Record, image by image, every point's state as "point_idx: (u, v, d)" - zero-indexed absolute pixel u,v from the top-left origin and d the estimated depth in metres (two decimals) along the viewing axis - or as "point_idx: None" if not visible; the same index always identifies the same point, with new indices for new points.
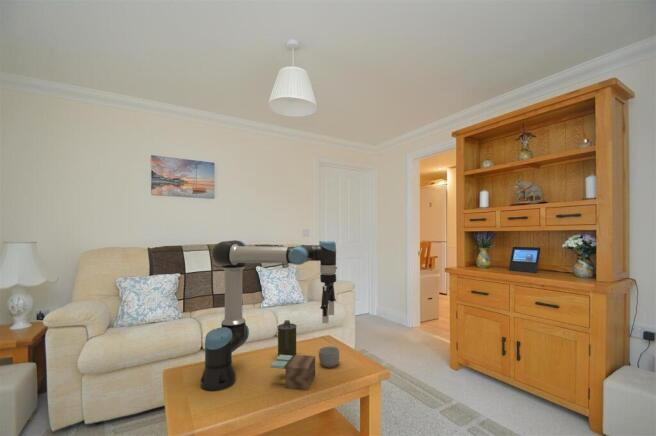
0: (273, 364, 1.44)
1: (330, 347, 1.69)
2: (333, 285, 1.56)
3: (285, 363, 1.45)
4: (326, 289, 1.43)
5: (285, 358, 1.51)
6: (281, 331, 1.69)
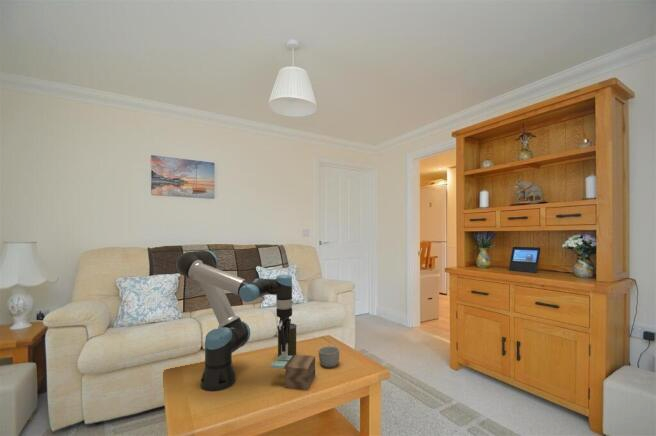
0: (273, 364, 1.44)
1: (330, 347, 1.69)
2: None
3: (285, 363, 1.45)
4: (281, 329, 1.46)
5: (285, 358, 1.51)
6: None
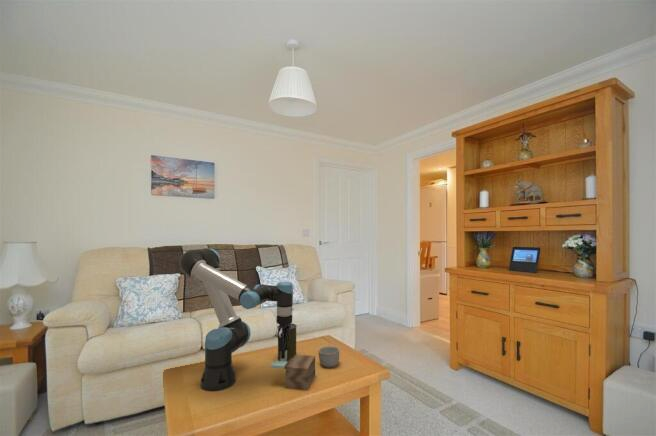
0: (273, 364, 1.44)
1: (330, 347, 1.69)
2: None
3: (285, 363, 1.45)
4: (281, 336, 1.46)
5: None
6: None
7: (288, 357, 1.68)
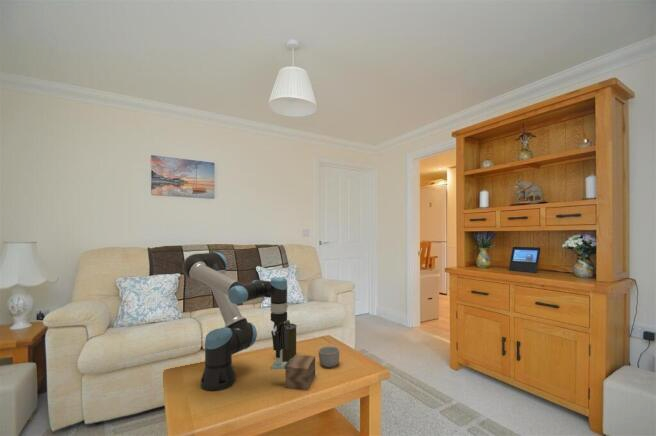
0: (273, 366, 1.44)
1: (330, 347, 1.69)
2: (285, 327, 1.50)
3: (285, 363, 1.45)
4: (275, 334, 1.40)
5: None
6: None
7: (288, 357, 1.68)
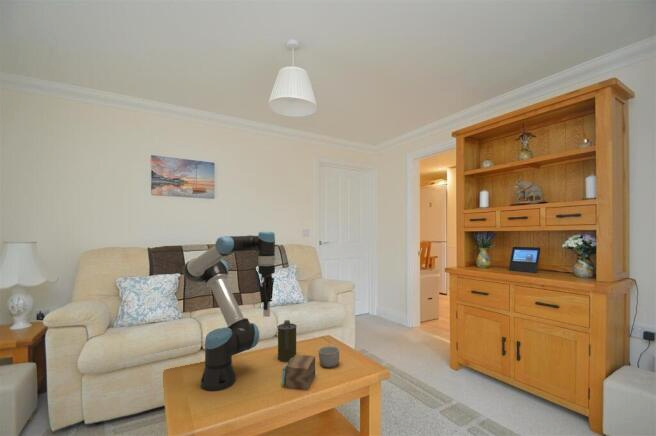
0: None
1: (330, 347, 1.69)
2: (273, 282, 1.52)
3: None
4: (262, 285, 1.41)
5: None
6: (281, 331, 1.69)
7: (288, 357, 1.68)
